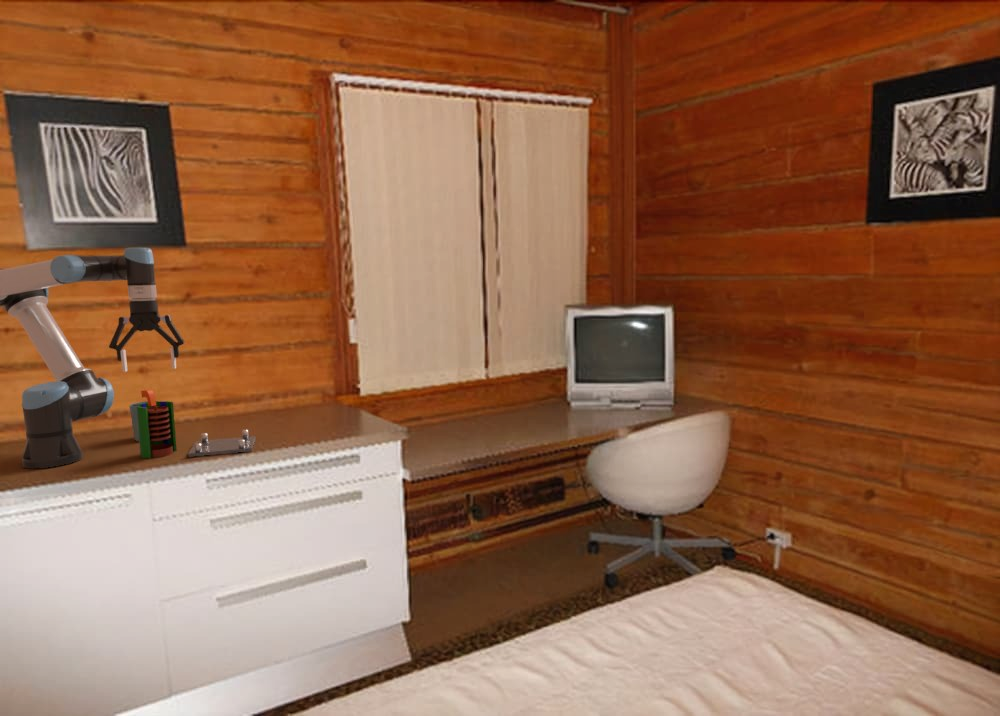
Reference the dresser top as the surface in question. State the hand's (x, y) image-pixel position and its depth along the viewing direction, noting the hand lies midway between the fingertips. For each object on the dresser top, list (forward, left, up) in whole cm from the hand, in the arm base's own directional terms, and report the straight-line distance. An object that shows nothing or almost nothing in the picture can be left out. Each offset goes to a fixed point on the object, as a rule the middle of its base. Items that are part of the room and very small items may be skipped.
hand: (149, 370), depth 208 cm
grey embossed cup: (-7, +24, -26) cm, 36 cm away
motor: (0, 0, -26) cm, 26 cm away
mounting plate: (+19, 0, -26) cm, 32 cm away
